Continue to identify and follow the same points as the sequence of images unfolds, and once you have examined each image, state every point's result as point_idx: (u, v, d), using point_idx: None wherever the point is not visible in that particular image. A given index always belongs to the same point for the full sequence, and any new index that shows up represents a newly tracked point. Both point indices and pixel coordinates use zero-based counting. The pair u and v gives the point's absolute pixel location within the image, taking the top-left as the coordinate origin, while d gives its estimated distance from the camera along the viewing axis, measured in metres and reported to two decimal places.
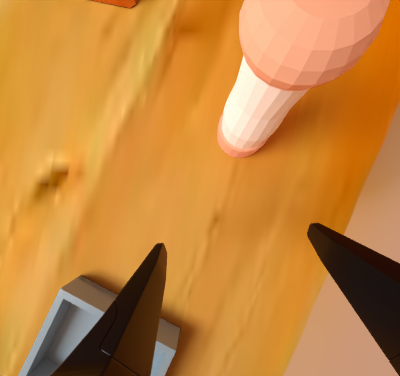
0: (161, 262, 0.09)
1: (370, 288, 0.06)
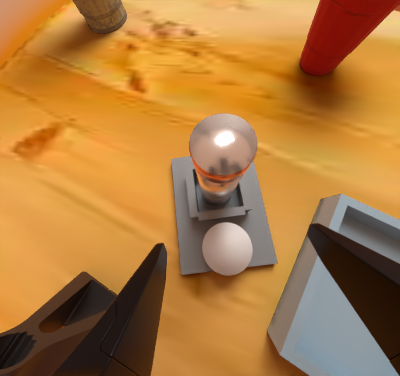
0: (161, 262, 0.09)
1: (369, 288, 0.06)
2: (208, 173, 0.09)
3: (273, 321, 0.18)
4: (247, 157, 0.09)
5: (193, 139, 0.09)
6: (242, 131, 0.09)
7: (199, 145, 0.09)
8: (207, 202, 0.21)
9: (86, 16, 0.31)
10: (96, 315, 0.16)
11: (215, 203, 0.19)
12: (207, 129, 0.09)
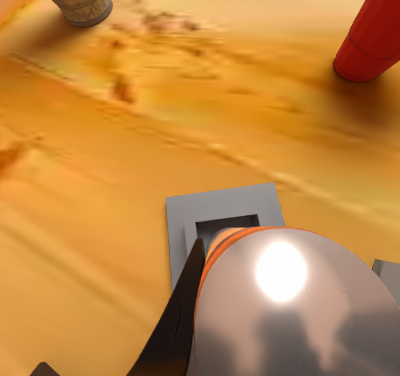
0: (204, 257, 0.09)
1: None
2: None
3: None
4: None
5: (206, 316, 0.03)
6: (356, 297, 0.03)
7: (226, 343, 0.03)
8: None
9: (59, 5, 0.25)
10: None
11: None
12: (247, 282, 0.03)
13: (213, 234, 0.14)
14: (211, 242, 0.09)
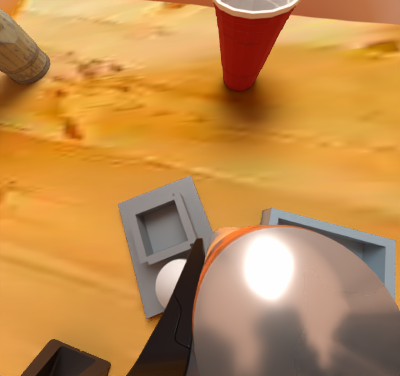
0: (204, 257, 0.09)
1: None
2: None
3: None
4: None
5: (205, 314, 0.03)
6: (354, 294, 0.03)
7: (224, 341, 0.03)
8: None
9: (4, 71, 0.30)
10: None
11: None
12: (245, 280, 0.03)
13: (213, 234, 0.14)
14: (210, 241, 0.09)
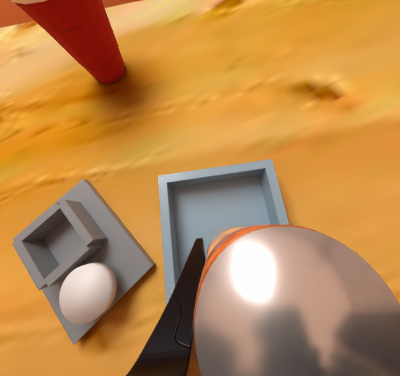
0: (204, 257, 0.09)
1: None
2: None
3: None
4: None
5: (206, 314, 0.03)
6: (356, 295, 0.03)
7: (225, 341, 0.03)
8: None
9: None
10: None
11: None
12: (247, 280, 0.03)
13: None
14: (211, 241, 0.09)
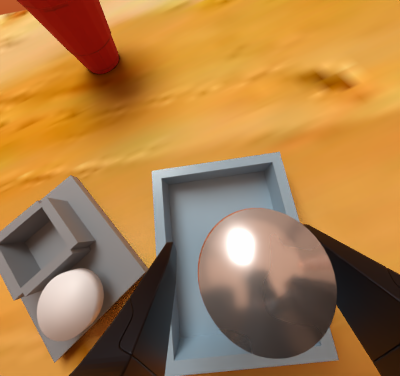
0: (172, 261, 0.09)
1: (353, 290, 0.06)
2: (239, 344, 0.04)
3: None
4: (319, 316, 0.04)
5: (206, 263, 0.05)
6: (301, 249, 0.05)
7: (218, 279, 0.05)
8: None
9: None
10: None
11: None
12: (232, 242, 0.05)
13: None
14: None
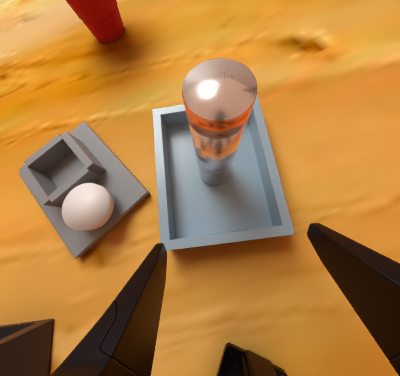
0: (161, 262, 0.09)
1: (369, 288, 0.06)
2: (203, 118, 0.08)
3: None
4: (246, 101, 0.08)
5: (187, 84, 0.09)
6: (240, 75, 0.08)
7: (193, 90, 0.08)
8: (204, 181, 0.20)
9: None
10: None
11: (212, 180, 0.18)
12: (202, 74, 0.09)
13: None
14: None
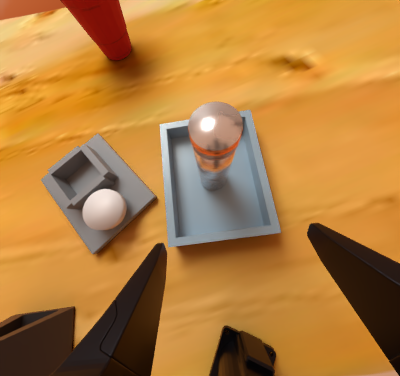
0: (161, 262, 0.09)
1: (370, 288, 0.06)
2: (203, 148, 0.11)
3: None
4: (234, 136, 0.11)
5: (191, 122, 0.12)
6: (231, 115, 0.11)
7: (196, 127, 0.11)
8: (205, 187, 0.23)
9: None
10: (20, 328, 0.18)
11: (212, 187, 0.21)
12: (203, 114, 0.12)
13: None
14: None
